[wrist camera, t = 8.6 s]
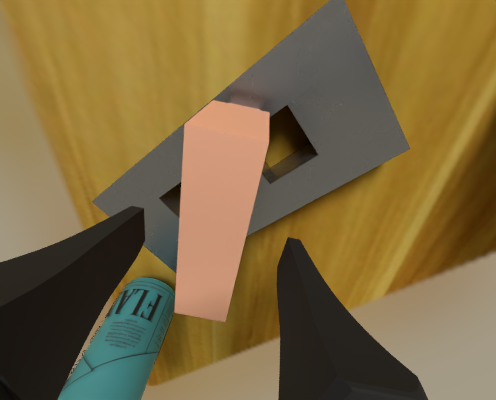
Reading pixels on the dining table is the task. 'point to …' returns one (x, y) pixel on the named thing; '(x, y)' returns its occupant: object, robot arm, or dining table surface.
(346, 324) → the robot arm
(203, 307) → the clip
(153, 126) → the dining table surface
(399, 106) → the dining table surface
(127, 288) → the beverage bottle
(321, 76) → the rail
